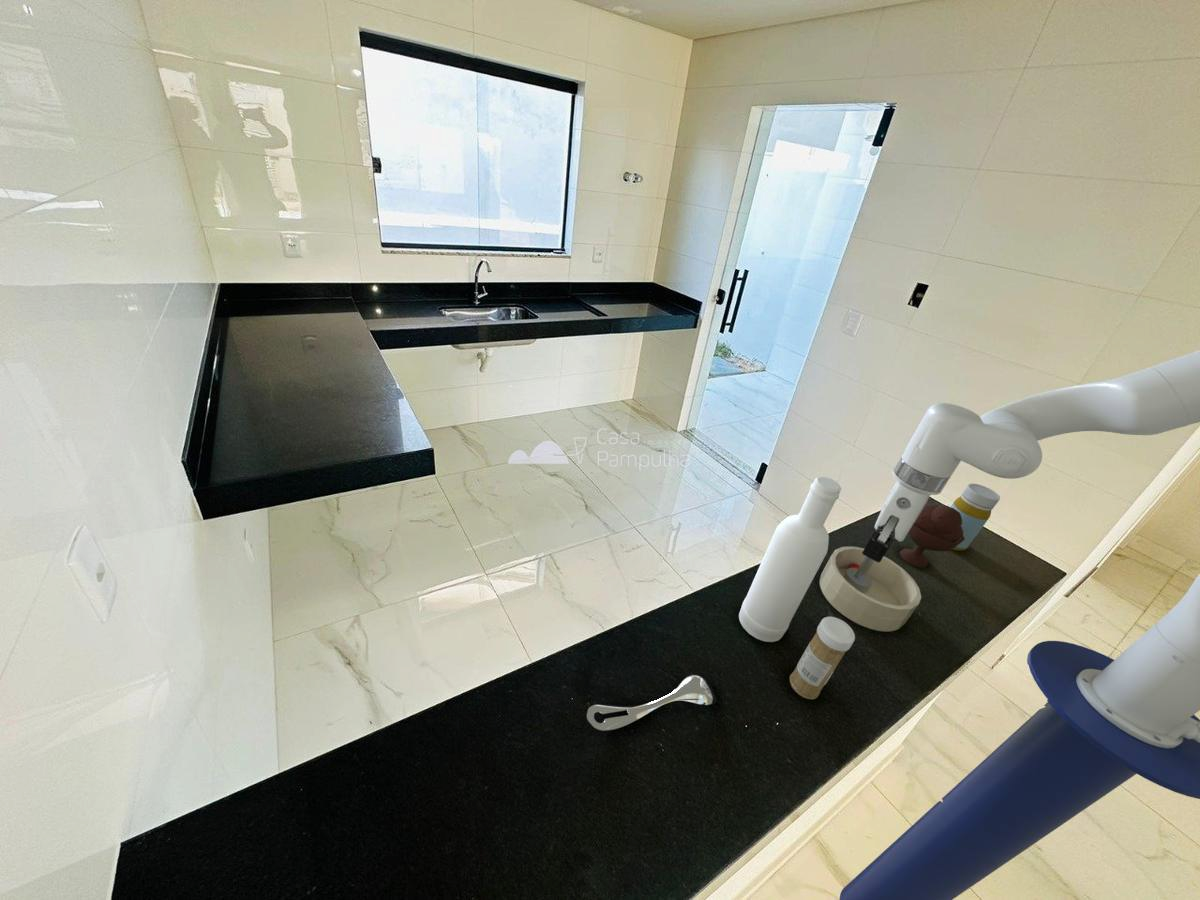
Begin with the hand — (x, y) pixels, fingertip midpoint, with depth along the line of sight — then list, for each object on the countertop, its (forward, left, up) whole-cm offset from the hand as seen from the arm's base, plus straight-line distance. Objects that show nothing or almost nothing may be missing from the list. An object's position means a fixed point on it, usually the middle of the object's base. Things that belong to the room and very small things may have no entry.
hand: (872, 554), depth 87 cm
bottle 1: (+9, +24, -9) cm, 27 cm away
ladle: (0, 0, -8) cm, 8 cm away
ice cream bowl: (-7, -21, -9) cm, 24 cm away
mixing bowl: (-2, +2, -9) cm, 9 cm away
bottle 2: (-12, -36, -9) cm, 39 cm away
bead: (+1, -3, -7) cm, 8 cm away
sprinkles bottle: (-1, +30, -9) cm, 31 cm away
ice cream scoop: (+13, +50, -9) cm, 53 cm away
